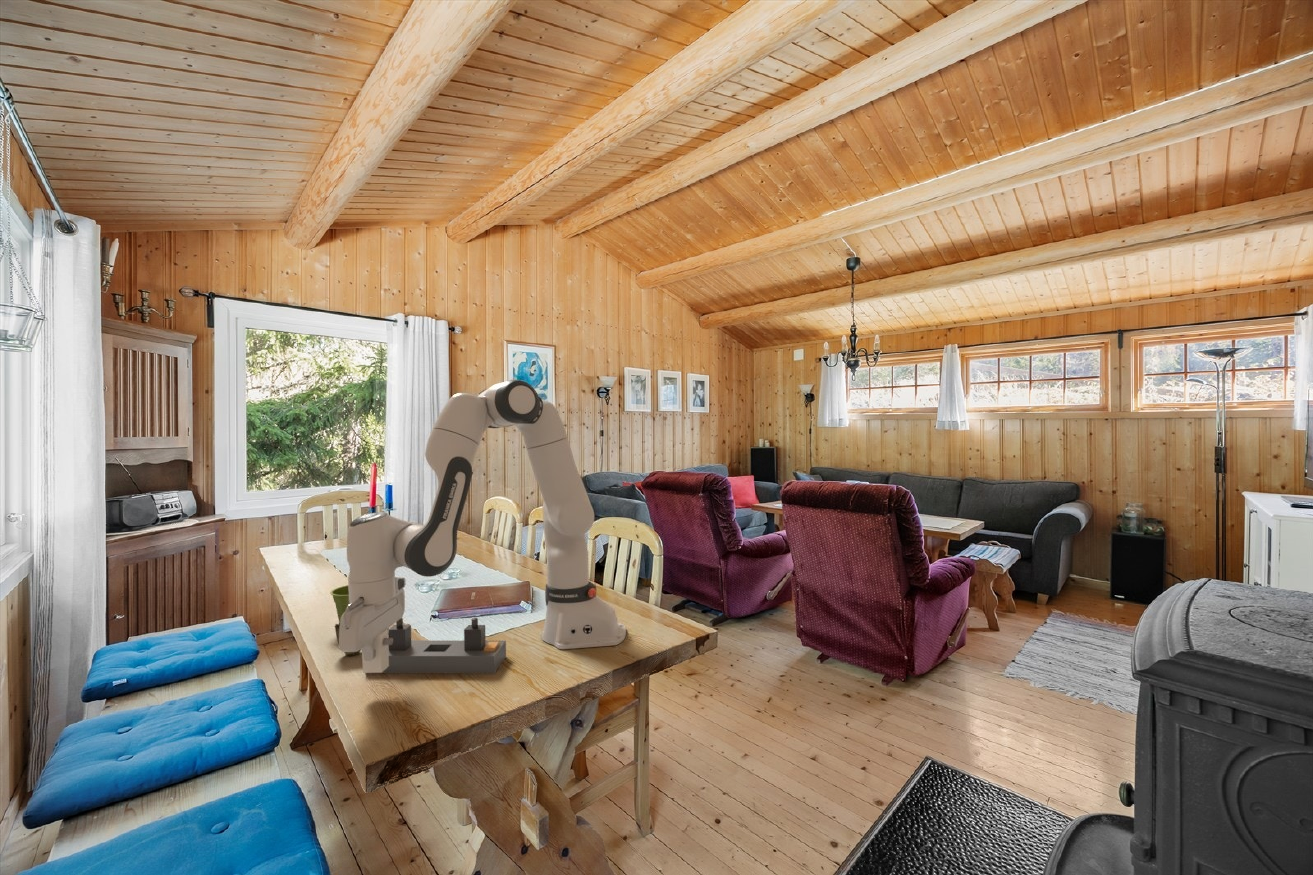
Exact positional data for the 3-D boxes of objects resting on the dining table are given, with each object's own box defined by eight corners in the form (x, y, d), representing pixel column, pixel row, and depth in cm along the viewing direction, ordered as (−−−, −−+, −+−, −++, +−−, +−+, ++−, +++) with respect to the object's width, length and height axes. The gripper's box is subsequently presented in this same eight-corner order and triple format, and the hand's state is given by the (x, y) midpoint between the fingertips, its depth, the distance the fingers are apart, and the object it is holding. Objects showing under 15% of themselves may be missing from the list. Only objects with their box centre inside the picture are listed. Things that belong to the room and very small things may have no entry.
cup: (331, 654, 138) (331, 622, 138) (363, 645, 143) (363, 614, 143) (340, 663, 133) (339, 630, 133) (373, 653, 138) (372, 622, 138)
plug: (396, 666, 119) (394, 629, 119) (389, 672, 116) (387, 634, 116) (370, 666, 119) (368, 629, 119) (362, 673, 116) (361, 635, 116)
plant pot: (388, 624, 158) (387, 585, 158) (350, 639, 147) (349, 597, 147) (360, 618, 163) (359, 580, 163) (321, 632, 152) (320, 592, 152)
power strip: (506, 656, 136) (505, 612, 135) (494, 673, 127) (493, 625, 126) (385, 656, 136) (384, 612, 136) (365, 673, 127) (364, 625, 127)
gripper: (360, 607, 107) (363, 677, 107) (409, 576, 127) (411, 635, 128) (327, 608, 107) (331, 678, 107) (381, 577, 127) (384, 636, 128)
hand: (375, 654), depth 118 cm, fingers closed on plug, 3 cm apart
